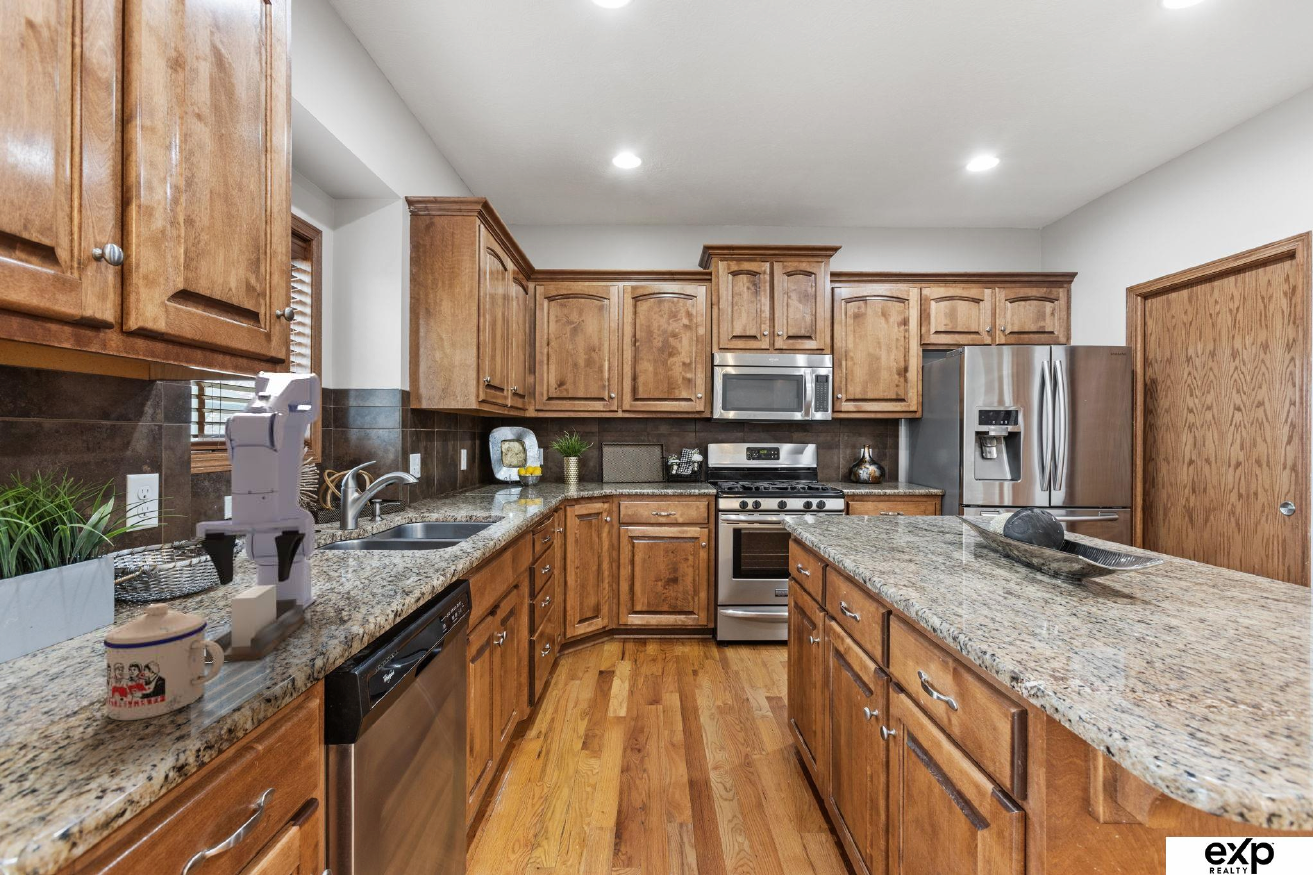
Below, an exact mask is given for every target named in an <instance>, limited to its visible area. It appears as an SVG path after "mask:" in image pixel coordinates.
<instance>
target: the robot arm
mask: <svg viewBox="0 0 1313 875" xmlns="http://www.w3.org/2000/svg"><path fill="white" fill-rule="evenodd" d="M254 381H255V382H254V396H253V397H252V398H251V399H250V400H249V402H248V403H247V404H246V406H245V407H244V408H243V410H242V411H241V413H239V412H236V413H234V414H233V416H228V417H227V418H226V420H225V425H224V440H225V445H226V450H227V459H228V462H229V463H231V470H230V471H231V520H217V521H215V520H214V521H202V522H198V523H196V525H195V527H196V528H195V529H196V531H195V532H196V534H195V535H196V536H195V537H196V538H198V537H199V538H200V537H203V538H204V539H203V540H200V546H201V547H202V549H203V550H204V551H205V552H206V554H207V555H208V557H209V559H210V560H211V562H212V564H213V566H214V569H215V572H216V574H217V577H218V580H219V584H220V586H226V585H229V584H230V583H232V582H233V580H234V553H235V552H234V551H235V546H236V541H237V540H236V539H237V536H238V535H245V541H244V542H245V543H244V548H245V555H246V557H247V558H248V559H249V560H250V561H251V562H253V565H254V566H255V565H256V567H257V568H256V569H257V570H256V571H257V572H256V573H257V575H256V577H257V580H256V581H257V582H256V583H257V585H256V586H264V585H276V600H286V599H297V605H301V604H303V611H304V610H305V609H306V608H308V606H310V605H311V604H313V603H314V602H315V601H316V600H318V597H317V596H312V566H311V563H310V561H309V560H308V559H307V558H309V557H311V555H312V554H314V551H315V547H316V527H315V526H316V525H315V524H316V522H315V521H316V520H315V518H314V516H313V514H312V513H311V512H310V511H308V510H306V509H305V508H303V507H301V506H300V497H301V496H300V494H301V493H300V492H301V482H302V470H303V469H302V468H303V458H304V446H305V443H304V442H305V436H306V433H307V429H308V425H309V424H312V423H313V422H316V421H317V420H318V418H319V415H320V407H321V406H320V405H321V381H320V377H319V376H318V375H317V374H316V373H311V374H310V373H309V374H306V373H305V374H304V373H283V372H282V373H281V372H279V373H275V372H266V371H260V372H259V373H258V374H257V375H256V377H255V380H254ZM228 462H227V463H228Z"/></svg>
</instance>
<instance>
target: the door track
mask: <svg viewBox="0 0 1313 875" xmlns="http://www.w3.org/2000/svg"><path fill="white" fill-rule="evenodd" d="M305 622H306V616H305V615H304V610H303V604H301V605H297V599H286V600H276V620H275V621H274V622H273V623H271V624H270V625H269V626H267V627H266V628H265V629H263V630H262V631H261V632H259V633H258V634H257V635H255V636H254V637H253V638H251V646H241V647H232V630H231V625H230V626H228V627H227V628H225V629H223V630H221V631H220V632H219V633H217V634H216V635H214V636H213V637H212V638H210V639H208V640H207V641H213V642H215V643H217V644H218V645H219V646H220V647H221V648H222V650H223V653H224V661H234V662H243V661H244V662H245V661H256V660H262V659H263V658H264V657H266V656H267V654H269V653H270V652H272V651H273V650H274V649H275V648H277V646H278V645H280V644H281V643H282V642H283V641H284V640H285V639H287V638H288V637H289V636H290V635H291V634H293V633H294V632H295V631H296V630H297V629H299V628H300V627H301V626H302V625H303V624H305ZM212 661H213V657H212V655H211V653H210V652H209V651H207V650H205V662H212Z"/></svg>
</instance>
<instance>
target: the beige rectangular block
mask: <svg viewBox="0 0 1313 875" xmlns="http://www.w3.org/2000/svg"><path fill="white" fill-rule="evenodd" d="M230 600H231V601H230V602H231V606H230V607H231V608H230V609H231V613H230V614H231V618H230V620H231V625H230V626H231V630H232V647H241V646H251V638H253V637H254V636H255V635H257V634H258V633H259V632H261V631H262V630H263V629H265V628H266V627H267V626H269V625H270V624H271V623H273V622H274V621H275V620H276V585H264V586H257V585H254V586H252V587H250V588H248V589H247V590H245V591H243V592H241V593H240V594H238V595H236V596H234V597H233V598H231V599H230Z"/></svg>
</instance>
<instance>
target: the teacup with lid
mask: <svg viewBox="0 0 1313 875" xmlns="http://www.w3.org/2000/svg"><path fill="white" fill-rule="evenodd" d="M207 626H208V624H207V621H206V619H205V618H204V617H203V616H201V615H199V614H191V613H190V614H189V613H183V612H180V611H177V610H172V609H171V610H169V605H168V603H163V602H162V603H155V604H154V603H153V604H151V605H148V606H147V607H146V609H145V614H142V615H140V616H137V617H136V618H134V619H133V620H131V621H130V622H128V623H126V624H122V625H121V626H118V627H116V628H113V629H112V630H110V631H109V632H108V633H106V635H105V637H104V640H103V645H104V646H105V647H106V714H107V716H108V717H109V718H111V719H114V720H118V721H137V720H143V719H150V718H154V717H159V716H162V715H166V714H169V713H171V712H170V711H172V712H174V710H175V711H177V709H178V710H180V709H182V708H181V707H183V706H185V707H187V706H188V705H187V704H189V705H191V704H193V703H194V702H196V701H197V700H199V699H198V698H199V697H200V698H201V697H202V696H203V695H204V692H205V688H206V687H205V684H206V683H208V682H209V681H211V680H213V679H214V678H216V677H217V676H218V675H219V674H220V672H221V670H222V668H223V665H224V663H225V662H224V653H223V650H222V648H221V647H220V646H219V645H218V644H217V643H215V642H213V641H208V640H206V639H205V629H206V627H207ZM206 650H207V651H209V652H210V653H211V655H212V657H213V663H211V664H212V665H211V669H210V671H209V672H208V673H207V674H205V673H206V672H205V669H206V668H205V666H206V664H205V655H206ZM201 695H202V696H201ZM196 699H197V700H196ZM195 700H196V701H195ZM193 701H194V702H193ZM192 702H193V703H192ZM190 703H191V704H190ZM186 705H187V706H186ZM179 708H180V709H179ZM183 708H184V707H183ZM168 712H169V713H168ZM165 713H166V714H165Z"/></svg>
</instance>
